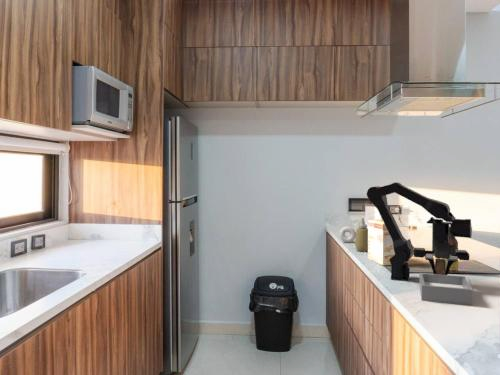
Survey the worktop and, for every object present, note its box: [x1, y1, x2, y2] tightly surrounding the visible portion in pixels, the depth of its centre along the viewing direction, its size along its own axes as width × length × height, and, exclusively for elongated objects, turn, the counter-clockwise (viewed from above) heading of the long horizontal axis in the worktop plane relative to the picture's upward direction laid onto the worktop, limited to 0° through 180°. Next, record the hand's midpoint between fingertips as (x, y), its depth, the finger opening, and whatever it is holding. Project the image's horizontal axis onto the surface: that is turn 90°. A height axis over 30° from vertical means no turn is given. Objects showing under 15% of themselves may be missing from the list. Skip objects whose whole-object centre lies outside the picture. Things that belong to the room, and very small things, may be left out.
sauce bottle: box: [441, 225, 459, 274], centre depth 164 cm, size 6×6×20 cm
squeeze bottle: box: [354, 217, 368, 253], centre depth 210 cm, size 8×8×18 cm
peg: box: [434, 258, 446, 275], centre depth 147 cm, size 4×4×8 cm
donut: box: [338, 226, 356, 244], centre depth 235 cm, size 10×4×10 cm, turn 75°
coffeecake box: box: [367, 219, 395, 266], centre depth 184 cm, size 15×7×20 cm, turn 9°
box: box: [418, 272, 474, 306], centre depth 134 cm, size 15×17×5 cm
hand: (440, 276), depth 147 cm, fingers closed on peg, 3 cm apart
